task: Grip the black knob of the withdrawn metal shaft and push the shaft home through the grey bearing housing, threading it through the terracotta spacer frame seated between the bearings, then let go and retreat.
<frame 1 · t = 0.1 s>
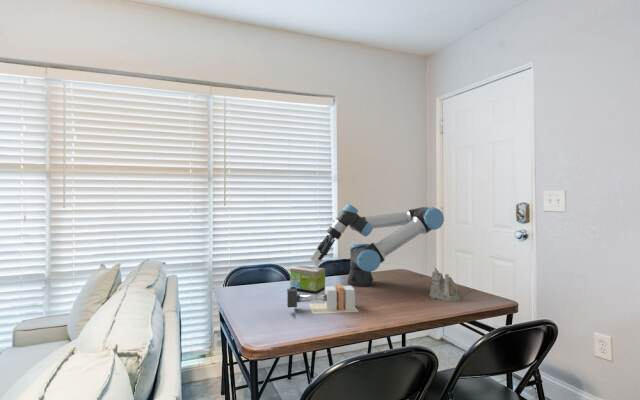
hand: (313, 262, 189), 15 cm above the table, tool tilted 35°, fingers open, 13 cm apart
spacer: (339, 307, 157), point 1 cm above the table, touching shaft housing
tea box: (307, 297, 178), on the table
shaft: (308, 297, 155), point 7 cm above the table, slide at 10.0 cm
grey rock formation: (445, 297, 179), on the table
shaft housing: (333, 310, 156), on the table
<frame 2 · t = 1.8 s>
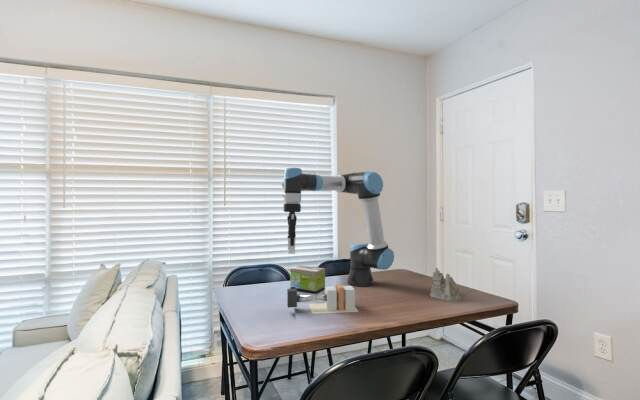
hand: (291, 251, 156), 26 cm above the table, tool pointing down, fingers open, 13 cm apart
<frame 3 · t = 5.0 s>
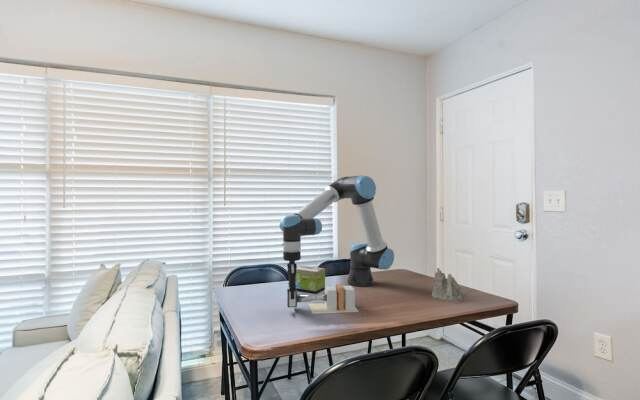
hand: (292, 304, 154), 4 cm above the table, tool pointing down, fingers closed on shaft, 4 cm apart
shaft: (308, 297, 155), point 6 cm above the table, slide at 10.0 cm, touching gripper
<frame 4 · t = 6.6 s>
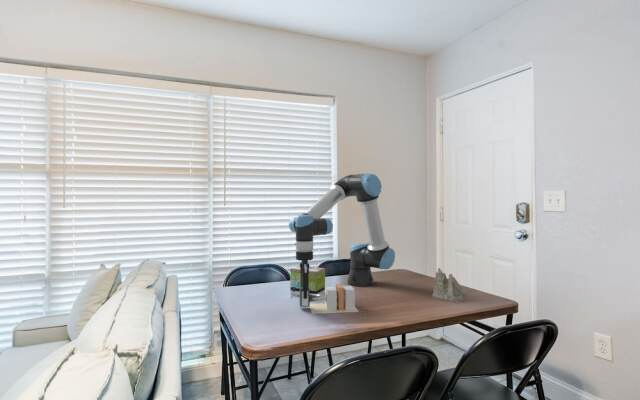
hand: (304, 303, 155), 4 cm above the table, tool pointing down, fingers closed on shaft, 4 cm apart
shaft: (320, 296, 156), point 6 cm above the table, slide at 4.6 cm, touching gripper
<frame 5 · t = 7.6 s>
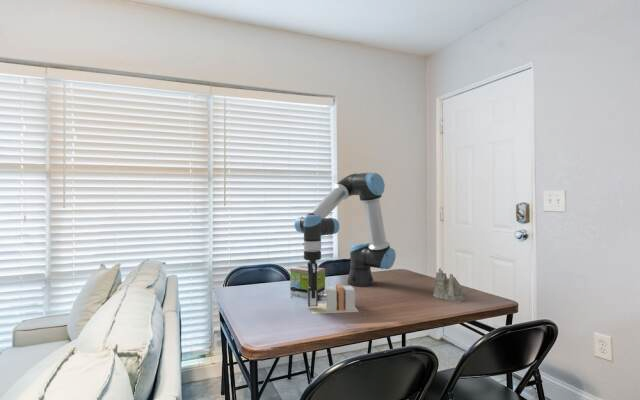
hand: (312, 303, 155), 4 cm above the table, tool pointing down, fingers closed on shaft, 4 cm apart
shaft: (328, 296, 156), point 6 cm above the table, slide at 1.1 cm, touching gripper
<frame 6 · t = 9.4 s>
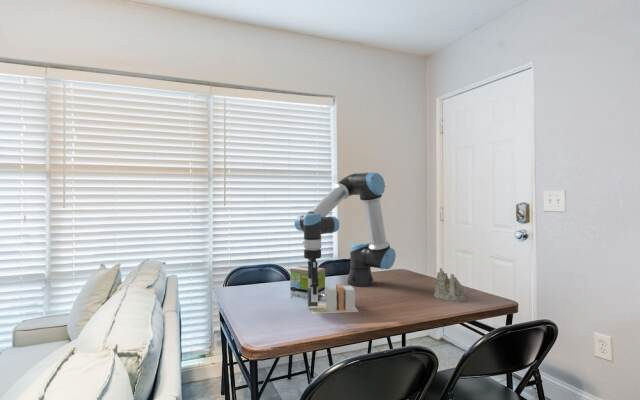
hand: (312, 297, 155), 6 cm above the table, tool pointing down, fingers open, 13 cm apart
shaft: (328, 296, 156), point 7 cm above the table, slide at 1.0 cm
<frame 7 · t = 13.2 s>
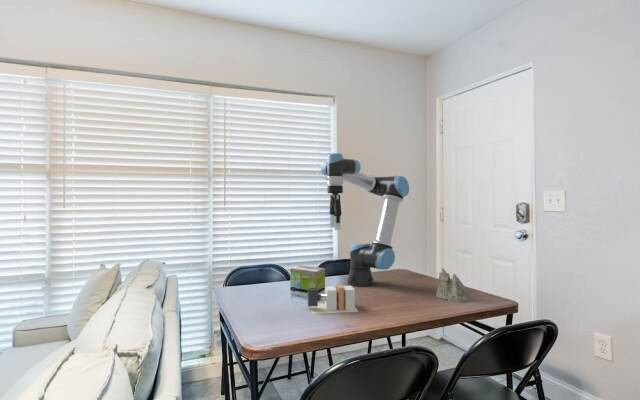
hand: (335, 228, 173), 35 cm above the table, tool pointing down, fingers open, 13 cm apart
at the end: shaft slide at 1.0 cm; spacer 0.0 cm from the target spot, point 1.5 cm above the table; spacer tilted 0° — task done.
